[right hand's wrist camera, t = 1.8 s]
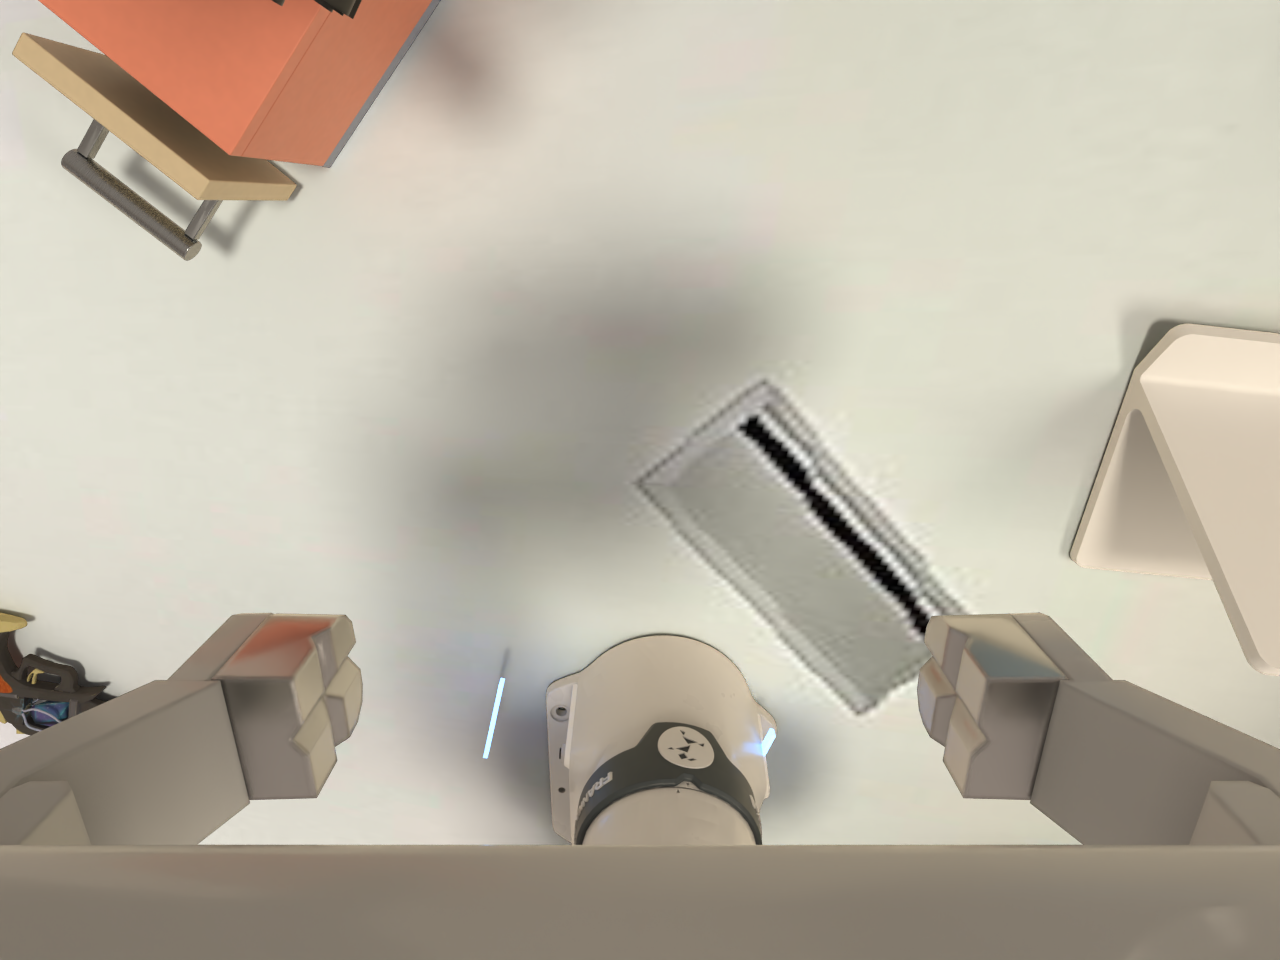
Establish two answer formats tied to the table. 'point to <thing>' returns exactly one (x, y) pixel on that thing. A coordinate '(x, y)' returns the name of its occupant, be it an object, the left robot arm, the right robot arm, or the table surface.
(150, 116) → the drawer
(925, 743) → the table surface
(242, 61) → the orange storage bin
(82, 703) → the toy gun
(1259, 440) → the tablet stand
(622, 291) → the table surface
